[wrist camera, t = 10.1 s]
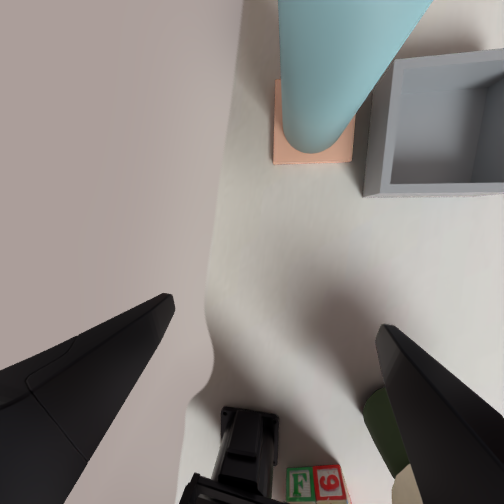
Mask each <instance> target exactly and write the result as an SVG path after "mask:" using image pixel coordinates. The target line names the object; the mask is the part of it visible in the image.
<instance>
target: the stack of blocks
mask: <svg viewBox="0 0 504 504" xmlns="http://www.w3.org/2000/svg"><path fill="white" fill-rule="evenodd" d="M286 502H288V503H290V504H352V503H351V500H350V496H349V493H348V490H347V486H346V483H345V479H344V476H343V473H342V469H341V466H340V465H323V466H313V467H300V468H287V471H286Z"/></svg>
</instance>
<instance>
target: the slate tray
mask: <svg viewBox="0 0 504 504" xmlns="http://www.w3.org/2000/svg"><path fill="white" fill-rule="evenodd" d="M494 194H504V48H502V49H492V50H482V51H472V52H463V53H453V54H443V55H433V56H423V57H413V58H404V59H395V60H394V61H393V62H392V64H391V65H390V67H389V68H388V70H387V71H386V73H385V74H384V75H383V77H382V78H381V80H380V81H379V83H378V84H377V86H376V87H375V88H374V90H373V95H372V106H371V116H370V126H369V136H368V147H367V157H366V167H365V178H364V188H363V197H474V196H484V195H494Z"/></svg>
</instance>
